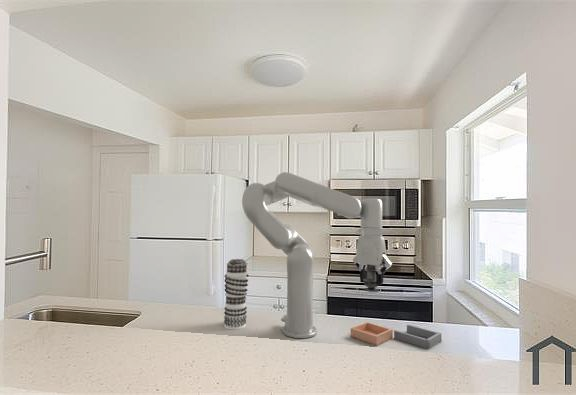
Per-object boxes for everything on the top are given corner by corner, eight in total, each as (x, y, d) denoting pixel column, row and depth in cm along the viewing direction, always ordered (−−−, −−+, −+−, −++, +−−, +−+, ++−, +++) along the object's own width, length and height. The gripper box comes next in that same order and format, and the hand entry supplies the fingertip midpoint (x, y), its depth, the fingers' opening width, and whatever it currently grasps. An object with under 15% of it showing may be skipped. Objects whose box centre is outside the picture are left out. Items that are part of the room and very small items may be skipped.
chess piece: (380, 292, 107) (380, 257, 108) (363, 291, 108) (363, 256, 109) (379, 289, 113) (379, 255, 114) (362, 288, 114) (362, 255, 115)
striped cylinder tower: (229, 320, 125) (231, 257, 127) (250, 323, 122) (252, 259, 124) (218, 328, 116) (220, 260, 118) (241, 331, 113) (243, 261, 115)
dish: (350, 336, 110) (350, 328, 110) (367, 330, 117) (367, 321, 117) (376, 345, 102) (376, 336, 102) (392, 338, 109) (392, 329, 109)
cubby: (394, 338, 109) (394, 330, 109) (408, 331, 116) (408, 324, 117) (428, 348, 100) (428, 340, 101) (441, 340, 108) (441, 333, 108)
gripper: (345, 231, 116) (345, 280, 115) (387, 234, 103) (388, 289, 102) (357, 231, 121) (357, 278, 120) (398, 233, 108) (399, 286, 107)
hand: (371, 283), depth 111 cm, fingers closed on chess piece, 5 cm apart
